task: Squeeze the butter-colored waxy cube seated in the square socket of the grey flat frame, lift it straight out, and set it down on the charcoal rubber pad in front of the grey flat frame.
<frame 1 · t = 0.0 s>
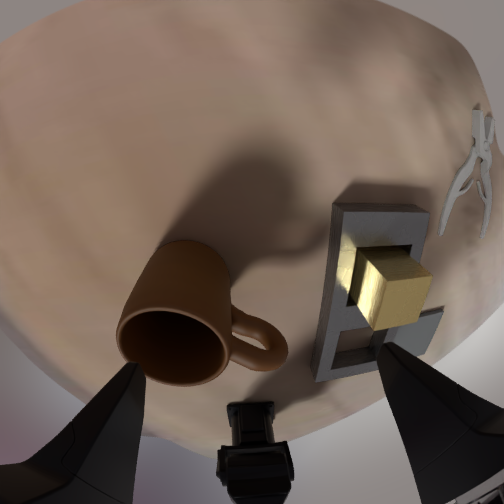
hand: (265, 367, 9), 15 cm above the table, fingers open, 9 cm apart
grey flat frame: (361, 297, 26), on the table
mug: (211, 281, 24), on the table
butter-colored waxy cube: (368, 263, 25), resting in grey flat frame
pad: (411, 337, 30), on the table
pliers: (472, 173, 22), on the table
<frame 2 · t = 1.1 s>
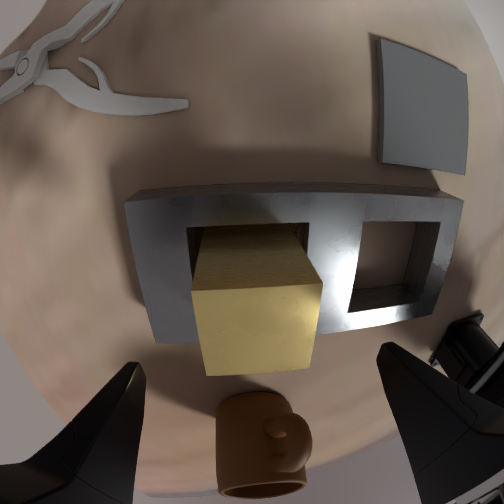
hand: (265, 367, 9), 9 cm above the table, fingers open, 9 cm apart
grey flat frame: (310, 254, 17), on the table
mug: (261, 396, 23), on the table
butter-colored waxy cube: (246, 257, 16), resting in grey flat frame
pad: (427, 110, 13), on the table
pliers: (79, 54, 10), on the table
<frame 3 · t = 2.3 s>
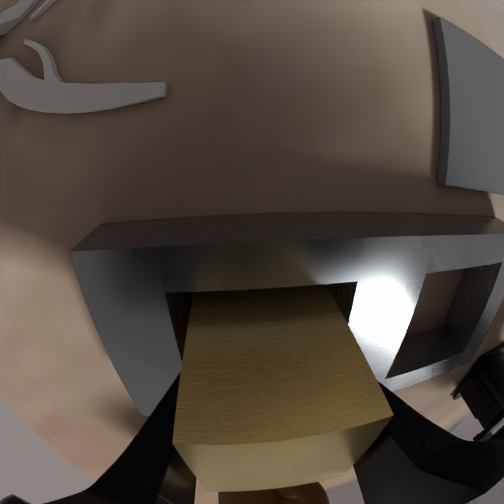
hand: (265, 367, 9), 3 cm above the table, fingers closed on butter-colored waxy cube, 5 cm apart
grey flat frame: (344, 307, 12), on the table
mug: (269, 445, 18), on the table
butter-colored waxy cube: (257, 314, 12), resting in grey flat frame, touching gripper
pad: (488, 116, 8), on the table
pliers: (29, 37, 5), on the table
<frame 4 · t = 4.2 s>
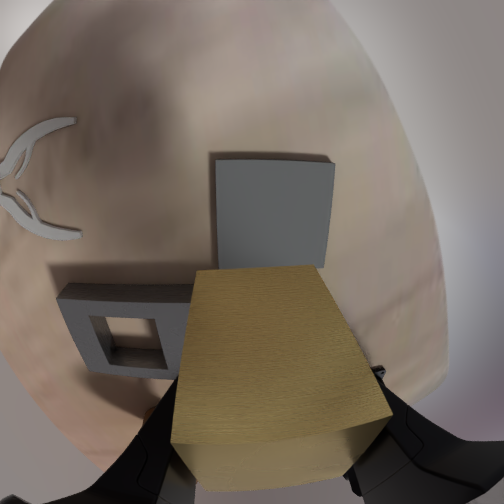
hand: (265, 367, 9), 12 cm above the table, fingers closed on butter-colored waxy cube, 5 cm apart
grey flat frame: (177, 327, 23), on the table
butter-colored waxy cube: (256, 314, 12), point 9 cm above the table, touching gripper
pad: (274, 215, 19), on the table
pliers: (18, 183, 16), on the table
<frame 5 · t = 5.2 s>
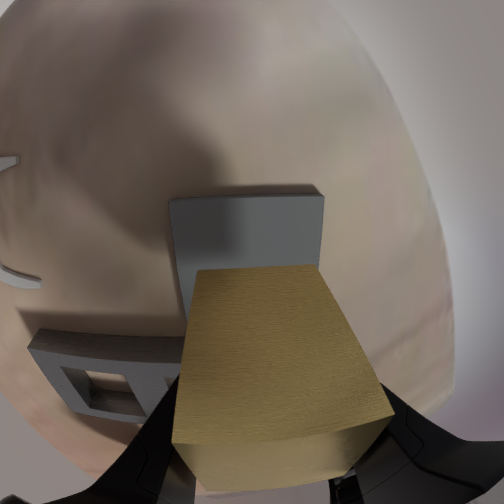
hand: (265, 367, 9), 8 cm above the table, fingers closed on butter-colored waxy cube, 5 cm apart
grey flat frame: (153, 375, 19), on the table
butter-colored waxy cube: (257, 314, 11), point 5 cm above the table, touching gripper
pad: (248, 263, 16), on the table
when the fingers open (5 cm above the table, at t = 6.1 s): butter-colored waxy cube drops 1 cm, resting on pad.
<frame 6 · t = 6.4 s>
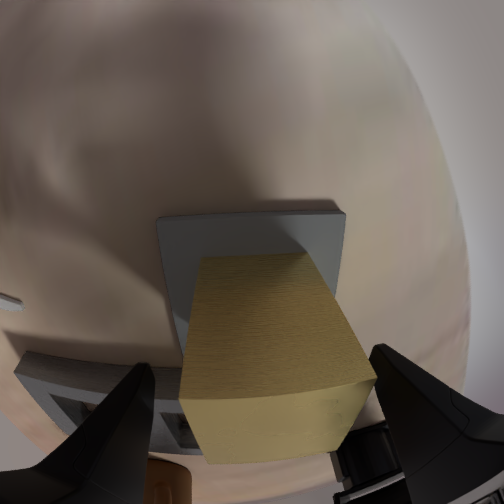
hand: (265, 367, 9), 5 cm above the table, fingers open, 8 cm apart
grey flat frame: (148, 403, 17), on the table
mug: (163, 461, 23), on the table
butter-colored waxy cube: (255, 299, 13), point 1 cm above the table, touching pad
pad: (253, 292, 13), on the table
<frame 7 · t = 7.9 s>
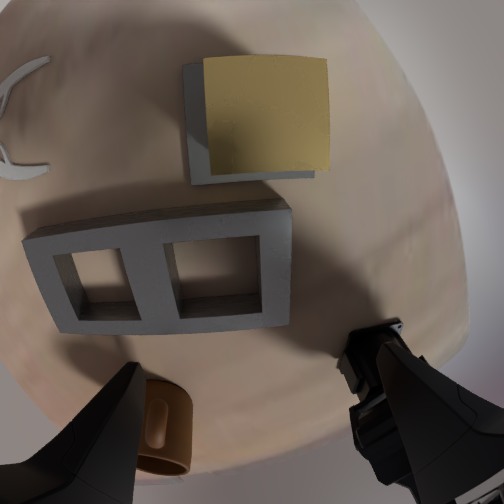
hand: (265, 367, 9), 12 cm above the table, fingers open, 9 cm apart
grey flat frame: (151, 268, 20), on the table
mug: (162, 385, 26), on the table
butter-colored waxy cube: (251, 118, 15), point 1 cm above the table, touching pad
pad: (250, 118, 16), on the table
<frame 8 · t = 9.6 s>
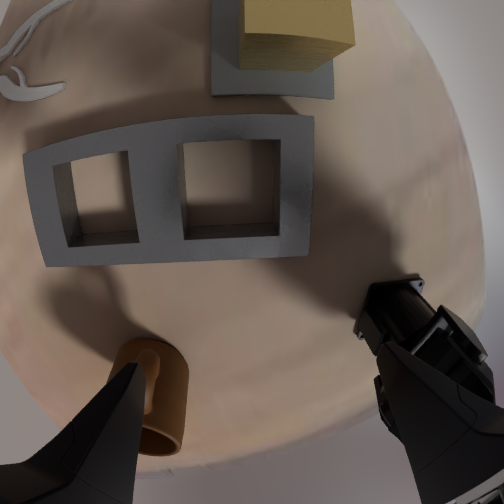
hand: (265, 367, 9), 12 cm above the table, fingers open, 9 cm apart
grey flat frame: (157, 187, 18), on the table
mug: (156, 346, 24), on the table
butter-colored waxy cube: (274, 40, 13), point 1 cm above the table, touching pad
pad: (272, 43, 14), on the table
pliers: (14, 63, 11), on the table
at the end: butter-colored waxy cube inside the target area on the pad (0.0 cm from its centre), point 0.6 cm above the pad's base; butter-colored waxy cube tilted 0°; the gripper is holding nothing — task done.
